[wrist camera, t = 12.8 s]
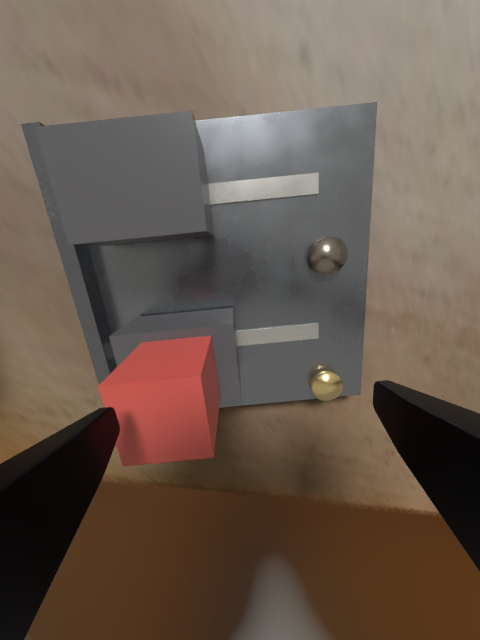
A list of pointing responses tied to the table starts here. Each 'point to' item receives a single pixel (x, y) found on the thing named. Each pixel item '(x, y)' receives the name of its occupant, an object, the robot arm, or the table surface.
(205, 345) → the cap
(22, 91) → the table surface
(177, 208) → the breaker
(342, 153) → the breaker panel
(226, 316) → the block
